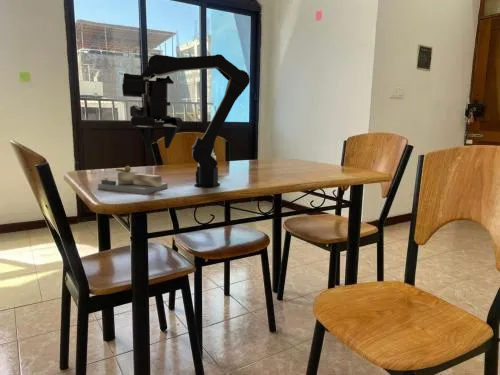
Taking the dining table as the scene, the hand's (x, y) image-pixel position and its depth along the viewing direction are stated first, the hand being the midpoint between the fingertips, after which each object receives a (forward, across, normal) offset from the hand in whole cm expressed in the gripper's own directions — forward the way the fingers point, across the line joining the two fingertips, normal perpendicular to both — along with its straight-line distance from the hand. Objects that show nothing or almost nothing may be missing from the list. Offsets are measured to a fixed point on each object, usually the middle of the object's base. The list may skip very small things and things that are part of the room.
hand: (157, 148), depth 120 cm
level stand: (+12, +6, -5) cm, 14 cm away
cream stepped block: (+11, +7, -2) cm, 13 cm away
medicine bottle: (+12, -29, +1) cm, 31 cm away
